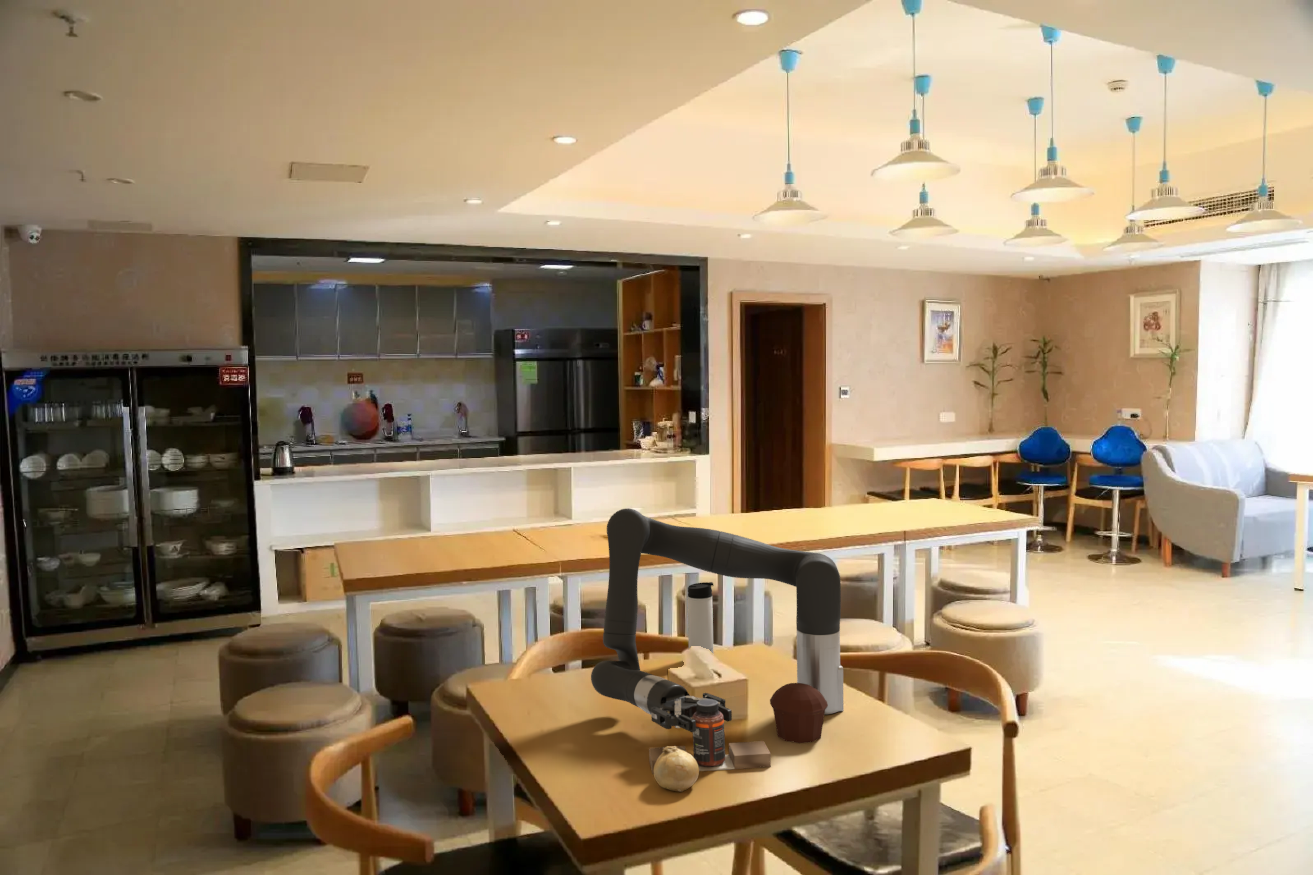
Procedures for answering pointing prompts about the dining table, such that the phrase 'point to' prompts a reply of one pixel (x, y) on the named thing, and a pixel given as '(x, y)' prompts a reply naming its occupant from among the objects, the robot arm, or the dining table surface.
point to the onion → (676, 769)
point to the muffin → (798, 712)
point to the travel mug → (700, 615)
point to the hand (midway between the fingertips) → (712, 721)
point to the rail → (730, 756)
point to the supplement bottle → (708, 734)
